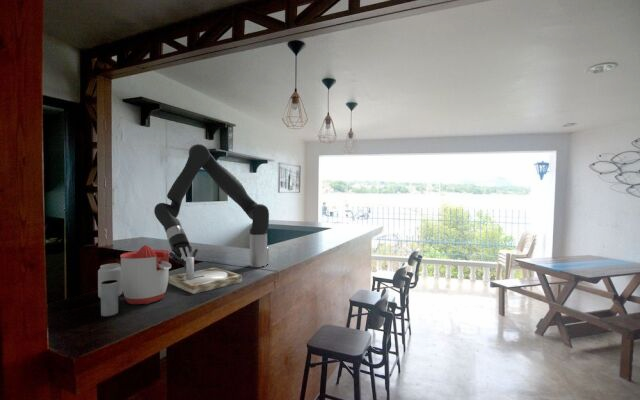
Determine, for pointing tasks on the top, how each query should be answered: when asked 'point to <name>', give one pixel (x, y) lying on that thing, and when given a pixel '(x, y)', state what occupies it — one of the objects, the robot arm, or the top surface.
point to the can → (109, 276)
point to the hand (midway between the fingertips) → (190, 269)
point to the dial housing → (197, 288)
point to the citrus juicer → (144, 275)
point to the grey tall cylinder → (109, 297)
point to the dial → (201, 273)
